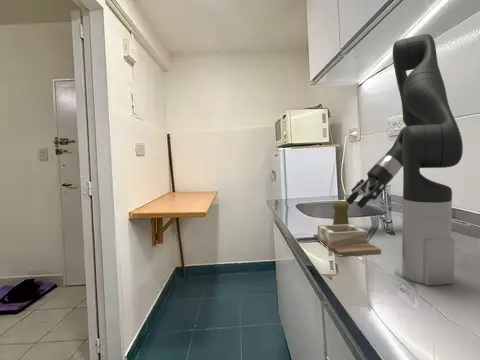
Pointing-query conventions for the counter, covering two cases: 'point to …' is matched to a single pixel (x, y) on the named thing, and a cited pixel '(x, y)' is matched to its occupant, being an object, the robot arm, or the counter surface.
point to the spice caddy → (346, 240)
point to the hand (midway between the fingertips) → (353, 204)
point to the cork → (340, 213)
